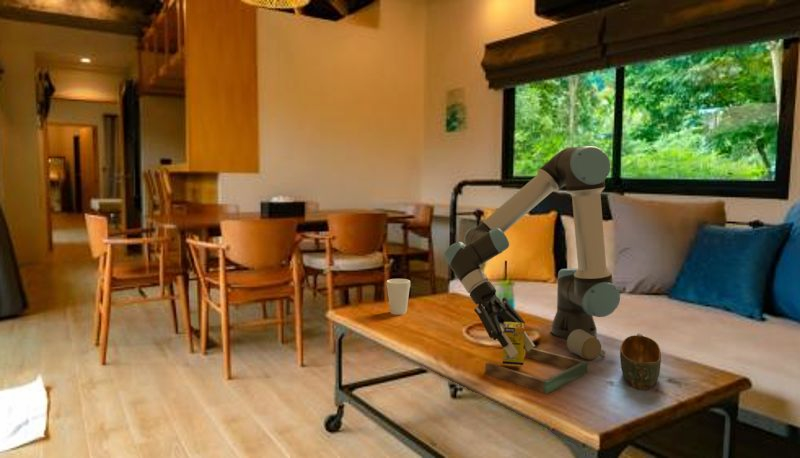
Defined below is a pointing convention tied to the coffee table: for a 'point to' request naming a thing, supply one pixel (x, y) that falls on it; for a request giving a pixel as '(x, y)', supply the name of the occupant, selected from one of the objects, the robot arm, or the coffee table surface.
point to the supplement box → (514, 342)
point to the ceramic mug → (584, 345)
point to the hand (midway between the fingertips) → (523, 351)
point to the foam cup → (398, 295)
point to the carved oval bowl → (640, 361)
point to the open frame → (546, 386)
